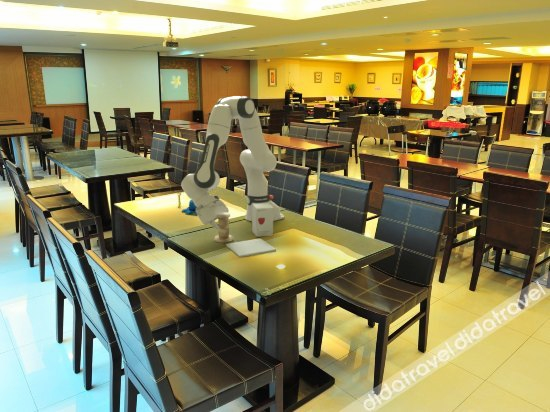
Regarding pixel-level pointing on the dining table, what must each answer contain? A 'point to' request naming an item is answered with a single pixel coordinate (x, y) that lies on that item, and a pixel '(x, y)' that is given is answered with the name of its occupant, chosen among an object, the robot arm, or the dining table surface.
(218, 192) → the dining table surface
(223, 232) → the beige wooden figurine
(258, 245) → the grey rubber mat
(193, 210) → the plush toy
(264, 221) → the supplement box
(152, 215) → the dining table surface
